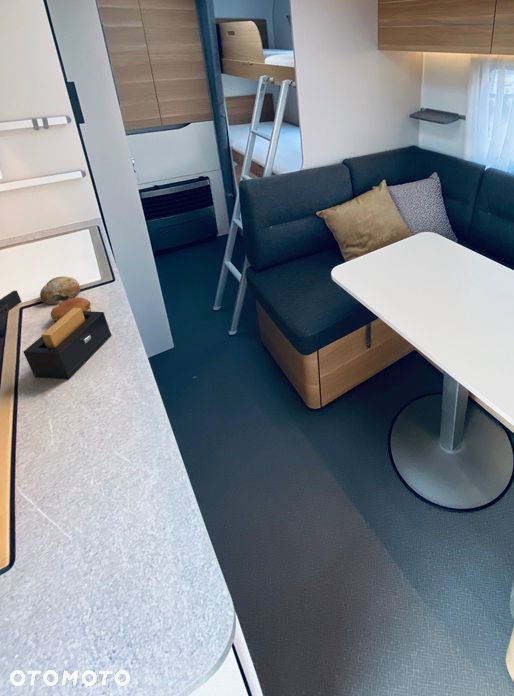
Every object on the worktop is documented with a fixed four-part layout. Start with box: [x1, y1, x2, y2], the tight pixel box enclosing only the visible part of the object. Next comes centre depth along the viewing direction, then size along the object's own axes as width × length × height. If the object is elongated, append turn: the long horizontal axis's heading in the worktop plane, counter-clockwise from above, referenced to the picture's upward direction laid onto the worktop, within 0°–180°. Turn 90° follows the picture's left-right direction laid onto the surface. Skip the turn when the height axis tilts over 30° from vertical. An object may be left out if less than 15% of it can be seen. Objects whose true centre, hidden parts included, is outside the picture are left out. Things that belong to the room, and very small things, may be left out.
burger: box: [50, 296, 92, 325], centre depth 118 cm, size 10×9×5 cm
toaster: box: [22, 310, 112, 380], centre depth 103 cm, size 10×15×8 cm, turn 175°
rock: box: [39, 276, 81, 305], centre depth 128 cm, size 10×10×8 cm
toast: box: [41, 308, 85, 348], centre depth 103 cm, size 2×10×10 cm, turn 176°
